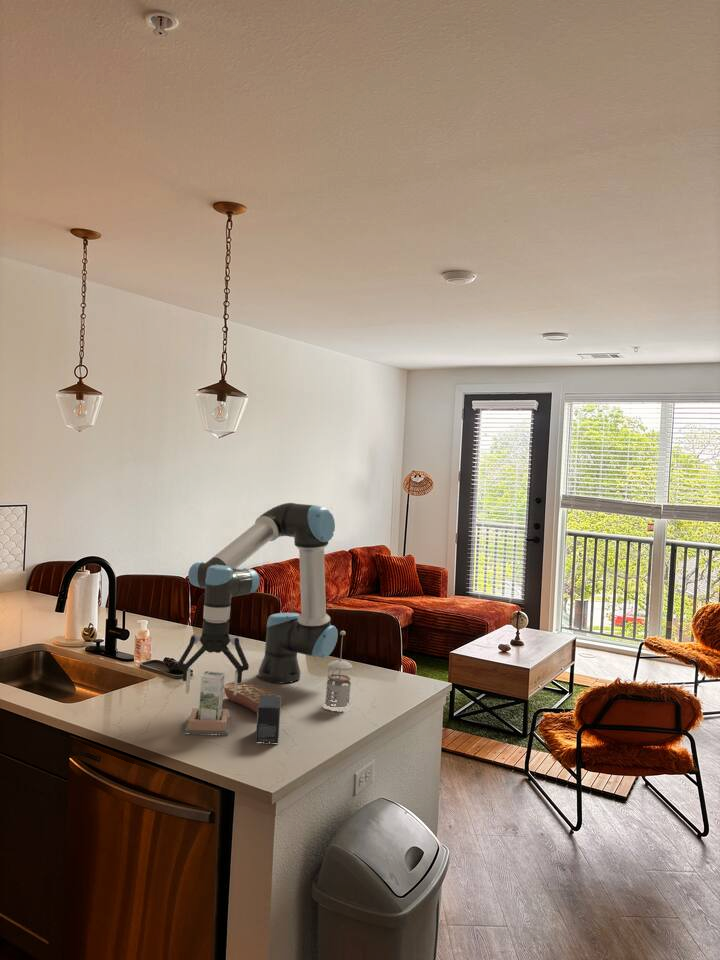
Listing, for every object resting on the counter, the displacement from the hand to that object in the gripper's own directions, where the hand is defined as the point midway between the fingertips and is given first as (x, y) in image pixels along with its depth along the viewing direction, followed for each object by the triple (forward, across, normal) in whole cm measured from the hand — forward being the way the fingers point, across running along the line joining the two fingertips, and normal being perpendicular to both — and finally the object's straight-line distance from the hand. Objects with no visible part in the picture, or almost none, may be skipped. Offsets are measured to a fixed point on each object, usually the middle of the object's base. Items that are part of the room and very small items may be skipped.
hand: (211, 692), depth 208 cm
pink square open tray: (+10, 0, 0) cm, 10 cm away
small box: (+10, -17, +6) cm, 21 cm away
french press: (+11, -39, -22) cm, 46 cm away
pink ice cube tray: (+11, -12, -18) cm, 24 cm away
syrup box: (+9, 0, 0) cm, 9 cm away
